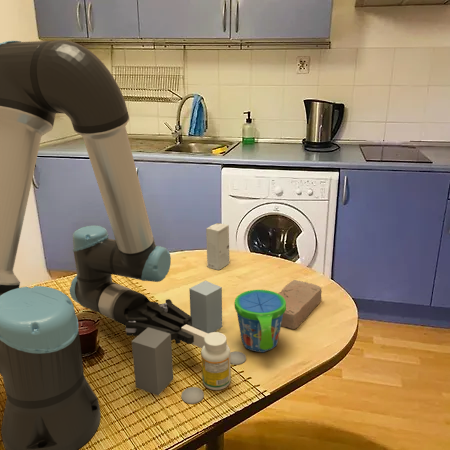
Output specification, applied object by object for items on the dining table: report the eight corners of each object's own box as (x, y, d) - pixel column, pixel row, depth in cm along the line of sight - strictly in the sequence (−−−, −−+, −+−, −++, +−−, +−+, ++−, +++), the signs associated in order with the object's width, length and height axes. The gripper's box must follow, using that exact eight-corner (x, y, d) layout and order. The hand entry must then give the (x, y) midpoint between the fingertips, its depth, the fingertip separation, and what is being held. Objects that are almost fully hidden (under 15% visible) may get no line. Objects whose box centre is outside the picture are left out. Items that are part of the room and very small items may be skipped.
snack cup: (234, 323, 105) (234, 283, 101) (280, 323, 105) (281, 283, 101) (234, 366, 90) (234, 321, 87) (288, 366, 90) (290, 321, 86)
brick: (292, 292, 119) (292, 276, 117) (322, 301, 115) (323, 284, 113) (261, 322, 106) (261, 304, 104) (294, 333, 102) (295, 314, 100)
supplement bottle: (225, 394, 83) (224, 350, 79) (197, 387, 84) (195, 344, 81) (234, 374, 87) (234, 332, 83) (208, 368, 89) (207, 327, 85)
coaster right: (238, 367, 90) (238, 366, 90) (222, 359, 92) (222, 358, 92) (249, 357, 93) (249, 355, 93) (233, 350, 95) (233, 349, 95)
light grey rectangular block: (207, 336, 100) (205, 295, 96) (190, 328, 103) (189, 288, 100) (222, 326, 103) (221, 287, 100) (206, 319, 107) (205, 280, 103)
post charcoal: (158, 395, 82) (154, 348, 79) (135, 387, 84) (131, 341, 81) (173, 379, 87) (170, 333, 83) (151, 371, 89) (148, 327, 85)
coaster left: (194, 407, 79) (193, 405, 79) (176, 397, 82) (176, 396, 82) (208, 394, 82) (208, 392, 82) (191, 385, 85) (191, 384, 85)
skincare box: (219, 270, 131) (218, 231, 127) (206, 267, 133) (205, 228, 129) (230, 263, 136) (230, 224, 132) (217, 259, 138) (216, 222, 134)
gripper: (148, 308, 106) (230, 343, 92) (102, 334, 96) (187, 377, 83) (145, 279, 103) (230, 311, 90) (99, 302, 93) (186, 342, 80)
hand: (209, 343), depth 86 cm, fingers closed
